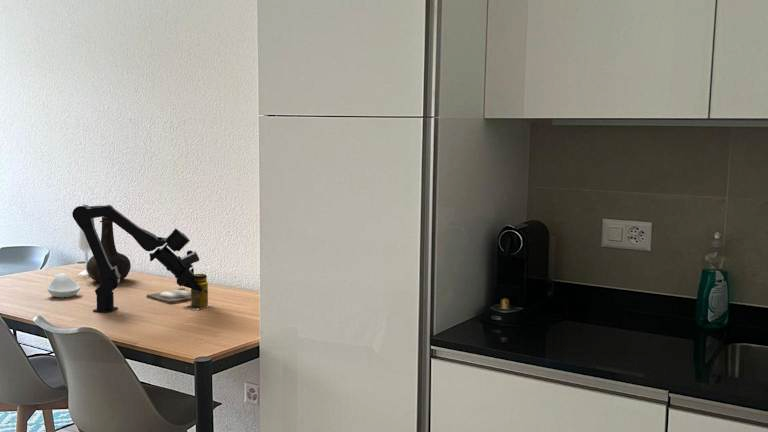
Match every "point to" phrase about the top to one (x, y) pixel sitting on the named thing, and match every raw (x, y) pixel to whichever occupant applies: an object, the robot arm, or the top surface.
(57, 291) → the spoon rest
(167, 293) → the brown flat square slab
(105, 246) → the glass bottle
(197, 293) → the condiment
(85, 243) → the champagne flute
